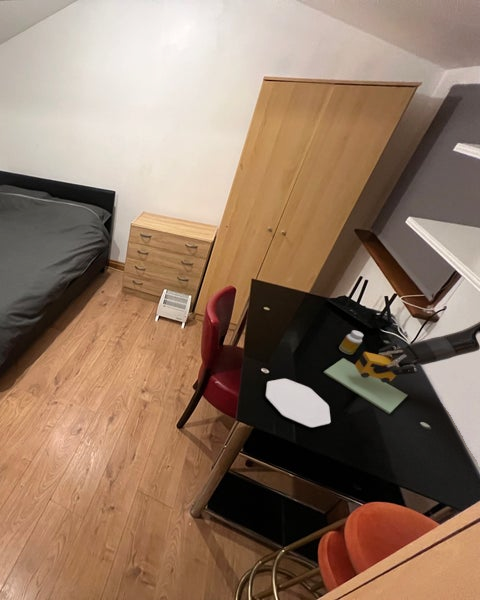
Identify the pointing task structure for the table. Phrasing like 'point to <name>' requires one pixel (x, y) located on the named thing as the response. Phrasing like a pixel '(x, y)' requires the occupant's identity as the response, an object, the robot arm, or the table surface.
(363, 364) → the toy bus
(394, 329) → the table surface
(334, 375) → the mat
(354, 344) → the supplement bottle
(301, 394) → the plate
